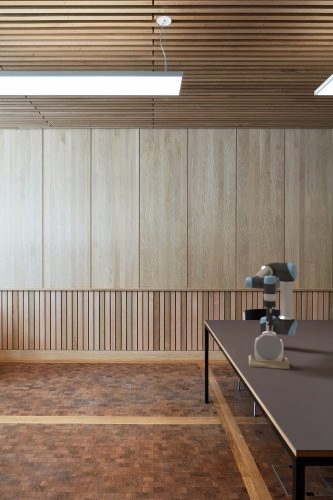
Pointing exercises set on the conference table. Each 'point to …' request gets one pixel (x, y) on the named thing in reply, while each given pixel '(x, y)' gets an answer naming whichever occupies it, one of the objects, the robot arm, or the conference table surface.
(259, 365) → the tray
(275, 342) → the alarm clock
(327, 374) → the conference table surface
